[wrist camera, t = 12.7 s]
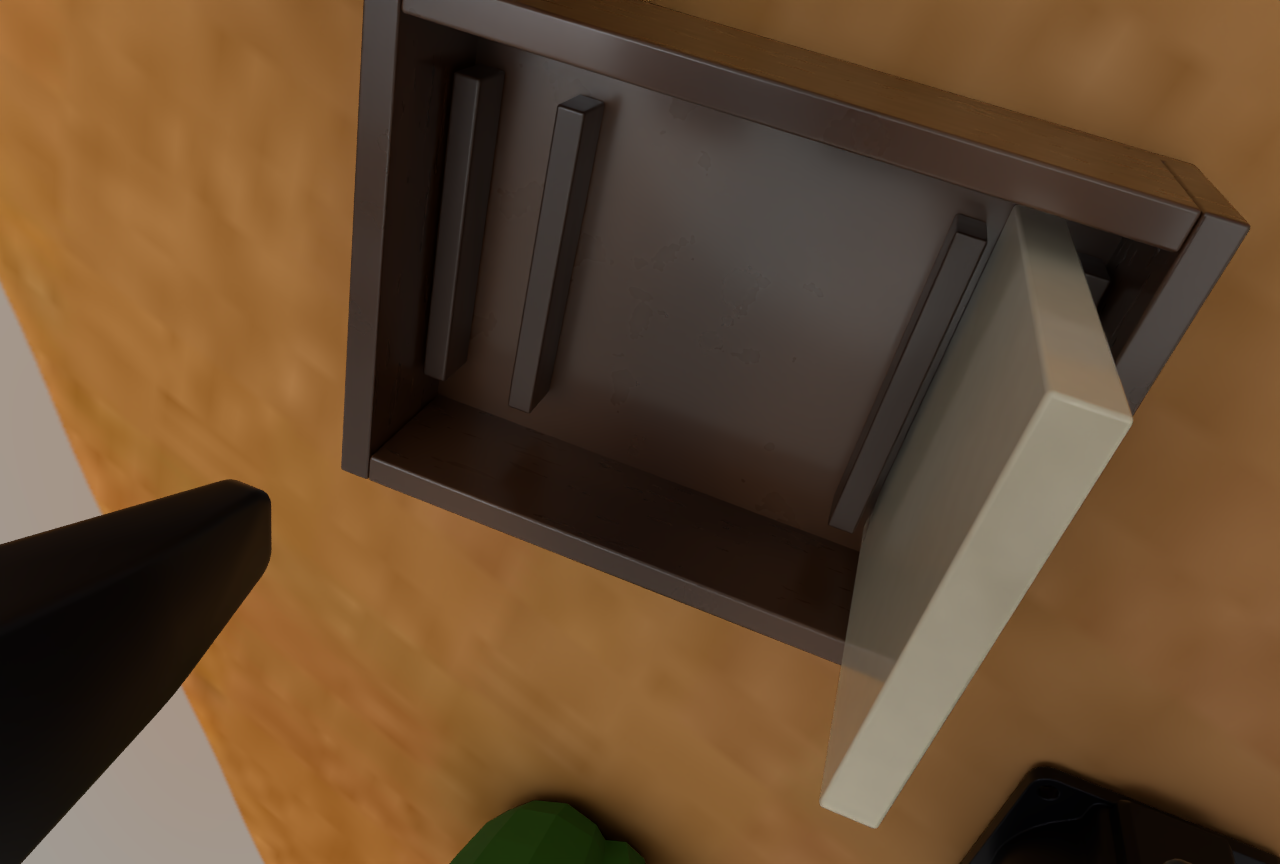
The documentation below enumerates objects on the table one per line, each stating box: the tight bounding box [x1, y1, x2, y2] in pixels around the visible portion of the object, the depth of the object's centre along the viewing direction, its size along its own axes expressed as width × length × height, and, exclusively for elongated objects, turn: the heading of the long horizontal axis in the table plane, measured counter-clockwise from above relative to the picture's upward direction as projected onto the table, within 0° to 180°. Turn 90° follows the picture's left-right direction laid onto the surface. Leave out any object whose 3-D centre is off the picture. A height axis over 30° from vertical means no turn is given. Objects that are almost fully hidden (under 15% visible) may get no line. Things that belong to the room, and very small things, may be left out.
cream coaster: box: [819, 205, 1133, 829], centre depth 16 cm, size 1×8×8 cm, turn 167°
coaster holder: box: [341, 0, 1251, 665], centre depth 18 cm, size 14×11×4 cm
